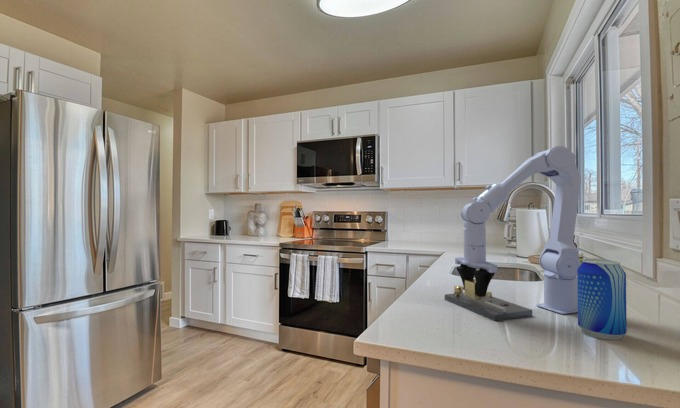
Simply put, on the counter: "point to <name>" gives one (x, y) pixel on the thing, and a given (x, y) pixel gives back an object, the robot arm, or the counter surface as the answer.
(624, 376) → the counter surface
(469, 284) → the leg
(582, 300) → the beer can
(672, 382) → the counter surface
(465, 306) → the bolt plate
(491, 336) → the counter surface
